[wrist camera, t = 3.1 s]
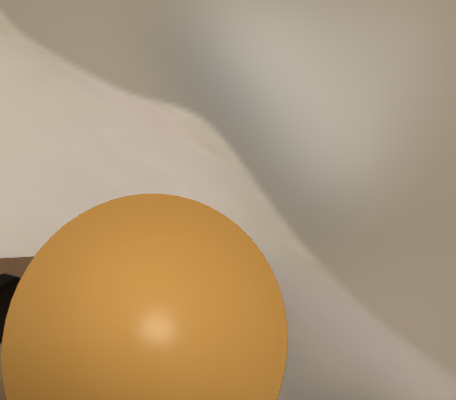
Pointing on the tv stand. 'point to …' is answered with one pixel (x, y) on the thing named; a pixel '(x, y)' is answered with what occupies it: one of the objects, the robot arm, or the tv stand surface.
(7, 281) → the robot arm
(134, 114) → the tv stand surface
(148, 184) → the tv stand surface
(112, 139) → the tv stand surface
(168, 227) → the orange rounded post
